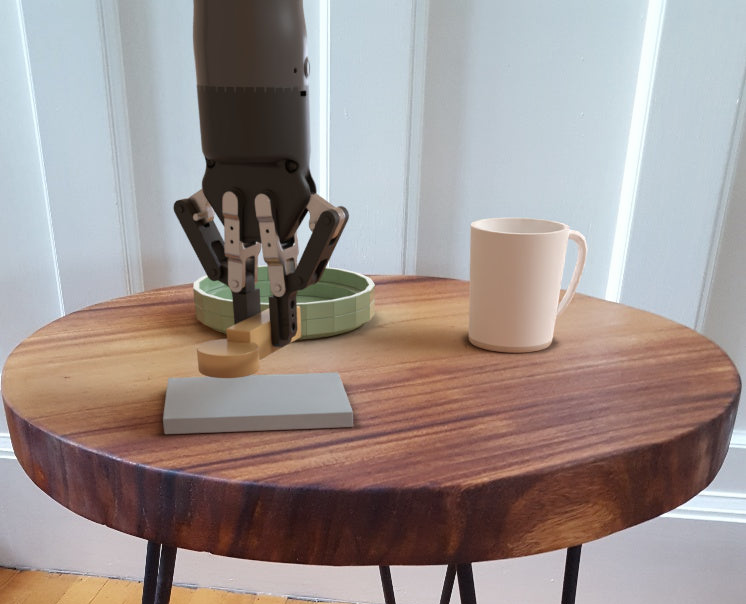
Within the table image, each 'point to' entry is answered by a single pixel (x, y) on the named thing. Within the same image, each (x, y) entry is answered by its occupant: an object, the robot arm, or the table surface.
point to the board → (256, 403)
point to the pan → (317, 302)
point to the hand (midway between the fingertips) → (267, 342)
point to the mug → (519, 281)
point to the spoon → (240, 348)
